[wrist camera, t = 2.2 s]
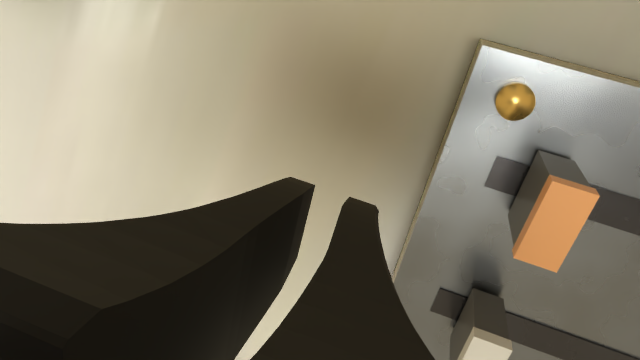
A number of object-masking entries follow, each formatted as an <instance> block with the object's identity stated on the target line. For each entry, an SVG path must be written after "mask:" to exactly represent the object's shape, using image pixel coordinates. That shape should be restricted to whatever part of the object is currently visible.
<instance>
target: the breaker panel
mask: <svg viewBox="0 0 640 360" xmlns="http://www.w3.org/2000/svg"><path fill="white" fill-rule="evenodd" d="M538 150H540V151H543V152H547V153H550V154H553V155H557V156H560V157H563V158H566V159H570V160H573V161H575V162H576V164H577V165H578V167H579V168H580V170H581V172H582V173H583V175H584V176H585V178H586V180H587V181H588V183H589V184H590V186H591V187H592V188H595V189H596V190H597V192H598V193H599V195H600V197H599V199H598V200H597V202H596V204H595V206H594V208H593V209H592V211H591V213H590V215H589V216H588V218H587V220H586V222H585V224H584V225H583V227H582V229H581V231H580V232H579V234H578V236H577V238H576V239H575V241H574V243H573V245H572V247H571V248H570V250H569V252H568V254H567V255H566V257H565V259H564V261H563V262H562V264H561V266H560V268H559V270H558V271H557V273H556V272H553V271H550V270H547V269H544V268H541V267H538V266H535V265H532V264H529V263H527V262H524V261H521V260H518V259H515V258H513V253H512V249H513V247H514V246H513V241H512V235H511V230H510V225H509V220H508V213H509V211H510V209H511V207H512V205H513V202H514V200H515V198H516V196H517V194H518V192H519V190H520V188H521V186H522V183H523V181H524V179H525V177H526V175H527V173H528V171H529V169H530V167H531V164H532V162H533V160H534V158H535V156H536V154H537V152H538ZM392 281H393V284H394V286H395V289H396V291H397V294H398V296H399V298H400V301H401V303H402V305H403V307H404V309H405V311H406V313H407V315H408V317H409V319H410V321H411V323H412V324H413V326H414V328H415V330H416V331H417V333H418V334H419V336H420V337H421V339H422V341H423V342H424V344H425V345H426V347H427V348H428V350H429V351H430V353H431V354H432V356H433V357H434V359H435V360H449V359H450V336H451V333H452V331H453V329H454V327H455V325H456V323H457V321H458V319H459V317H460V314H461V312H462V310H463V308H464V306H465V304H466V302H467V300H468V298H469V295H470V293H471V291H472V289H473V288H475V289H477V290H480V291H483V292H486V293H489V294H492V295H494V296H497V297H500V298H503V299H504V305H505V313H506V321H507V328H508V336H509V340H511V343H512V350H513V351H512V353H511V355H510V356H509V358H508V360H640V82H639V81H635V80H632V79H628V78H624V77H621V76H617V75H613V74H609V73H606V72H602V71H598V70H595V69H591V68H587V67H584V66H580V65H576V64H573V63H569V62H565V61H561V60H558V59H554V58H550V57H547V56H543V55H539V54H536V53H532V52H528V51H525V50H521V49H517V48H513V47H510V46H506V45H502V44H499V43H495V42H491V41H488V40H484V39H480V41H479V43H478V46H477V49H476V51H475V54H474V57H473V60H472V62H471V65H470V68H469V70H468V73H467V76H466V78H465V81H464V84H463V87H462V89H461V92H460V95H459V97H458V100H457V103H456V105H455V108H454V111H453V114H452V116H451V119H450V122H449V124H448V127H447V130H446V133H445V135H444V138H443V141H442V143H441V146H440V149H439V151H438V154H437V157H436V160H435V162H434V165H433V168H432V170H431V173H430V176H429V178H428V181H427V184H426V187H425V189H424V192H423V195H422V197H421V200H420V203H419V206H418V208H417V211H416V214H415V216H414V219H413V222H412V224H411V227H410V230H409V233H408V235H407V238H406V241H405V243H404V246H403V249H402V252H401V254H400V257H399V260H398V262H397V265H396V268H395V270H394V273H393V276H392Z"/></svg>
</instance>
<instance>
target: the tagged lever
mask: <svg viewBox="0 0 640 360" xmlns="http://www.w3.org/2000/svg"><path fill="white" fill-rule="evenodd" d="M599 197H600V195H599V193H598V192H597V190H596V189H595V188H592V187H591V186H590V184H589V183H588V181H587V180H586V178H585V176H584V175H583V173H582V172H581V170H580V168H579V167H578V165H577V164H576V162H575V161H573V160H570V159H566V158H563V157H560V156H557V155H553V154H550V153H547V152H543V151H540V150H538V152H537V154H536V156H535V158H534V160H533V162H532V164H531V167H530V169H529V171H528V173H527V175H526V177H525V179H524V181H523V183H522V186H521V188H520V190H519V192H518V194H517V196H516V198H515V200H514V202H513V205H512V207H511V209H510V211H509V213H508V220H509V225H510V230H511V235H512V241H513V246H514V247H513V249H512V253H513V258H515V259H518V260H521V261H524V262H527V263H529V264H532V265H535V266H538V267H541V268H544V269H547V270H550V271H553V272H556V273H557V271H558V270H559V268H560V266H561V264H562V262H563V261H564V259H565V257H566V255H567V254H568V252H569V250H570V248H571V247H572V245H573V243H574V241H575V239H576V238H577V236H578V234H579V232H580V231H581V229H582V227H583V225H584V224H585V222H586V220H587V218H588V216H589V215H590V213H591V211H592V209H593V208H594V206H595V204H596V202H597V200H598V199H599Z"/></svg>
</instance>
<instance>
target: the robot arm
mask: <svg viewBox="0 0 640 360" xmlns="http://www.w3.org/2000/svg"><path fill="white" fill-rule="evenodd" d="M314 188H315V185H313V184H310V183H307V182H304V181H301V180H298V179H295V178H292V177H288V178H285V179H282V180H279V181H276V182H273V183H271V184H268V185H265V186H262V187H260V188H257V189H254V190H251V191H248V192H245V193H243V194H240V195H237V196H234V197H231V198H227V199H224V200H220V201H217V202H213V203H210V204H206V205H203V206H200V207H196V208H192V209H187V210H183V211H178V212H173V213H167V214H162V215H156V216H150V217H143V218H133V219H124V220H114V221H105V222H92V223H71V224H13V223H0V360H234V359H235V357H236V356H237V354H238V353H239V352H240V350H241V349H242V347H243V346H244V344H245V343H246V341H247V340H248V338H249V337H250V335H251V334H252V332H253V331H254V329H255V328H256V327H257V325H258V324H259V322H260V321H261V319H262V318H263V316H264V315H265V313H266V312H267V310H268V309H269V307H270V306H271V304H272V303H273V301H274V300H275V298H276V297H277V295H278V294H279V292H280V291H281V289H282V287H283V285H284V283H285V281H286V279H287V277H288V275H289V273H290V271H291V269H292V267H293V265H294V263H295V261H296V259H297V256H298V252H299V248H300V244H301V240H302V236H303V232H304V228H305V224H306V220H307V216H308V212H309V208H310V204H311V200H312V196H313V192H314ZM378 213H379V211H378V209H377V207H376V206H375V205H372V204H369V203H366V202H363V201H360V200H357V199H354V198H352V197H349V198H348V199H347V200H346V202H345V203H344V204H343V206H342V208H341V211H340V214H339V217H338V221H337V224H336V227H335V230H334V233H333V236H332V239H331V242H330V245H329V248H328V250H327V253H326V255H325V257H324V259H323V261H322V263H321V264H320V266H319V268H318V269H317V271H316V273H315V274H314V276H313V278H312V279H311V281H310V283H309V284H308V286H307V287H306V289H305V290H304V292H303V293H302V295H301V296H300V298H299V299H298V301H297V302H296V304H295V305H294V306H293V308H292V309H291V311H290V312H289V313H288V315H287V316H286V317H285V319H284V320H283V322H282V323H281V324H280V326H279V327H278V328H277V329H276V330H275V332H274V333H273V334H272V335H271V336H270V338H269V339H268V340H267V341H266V342H265V344H264V345H263V346H262V347H261V348H260V349H259V351H258V352H257V353H256V354H255V355H254V356H253V357H252V358H251V359H250V360H435V359H434V357H433V356H432V354H431V353H430V351H429V350H428V348H427V347H426V345H425V344H424V342H423V341H422V339H421V337H420V336H419V334H418V333H417V331H416V330H415V328H414V326H413V324H412V323H411V321H410V319H409V317H408V315H407V313H406V311H405V309H404V307H403V305H402V303H401V301H400V298H399V296H398V294H397V291H396V289H395V286H394V284H393V281H392V278H391V275H390V272H389V270H388V266H387V263H386V260H385V256H384V252H383V248H382V244H381V239H380V233H379V226H378Z"/></svg>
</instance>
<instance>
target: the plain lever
mask: <svg viewBox="0 0 640 360" xmlns="http://www.w3.org/2000/svg"><path fill="white" fill-rule="evenodd" d="M512 351H513V350H512V343H511V340H509V336H508V328H507V321H506V313H505V305H504V299H503V298H500V297H497V296H494V295H492V294H489V293H486V292H483V291H480V290H477V289H475V288H473V289H472V291H471V293H470V295H469V298H468V300H467V302H466V304H465V306H464V308H463V310H462V312H461V314H460V317H459V319H458V321H457V323H456V325H455V327H454V329H453V331H452V333H451V336H450V359H449V360H508V358H509V356H510V355H511V353H512Z"/></svg>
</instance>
